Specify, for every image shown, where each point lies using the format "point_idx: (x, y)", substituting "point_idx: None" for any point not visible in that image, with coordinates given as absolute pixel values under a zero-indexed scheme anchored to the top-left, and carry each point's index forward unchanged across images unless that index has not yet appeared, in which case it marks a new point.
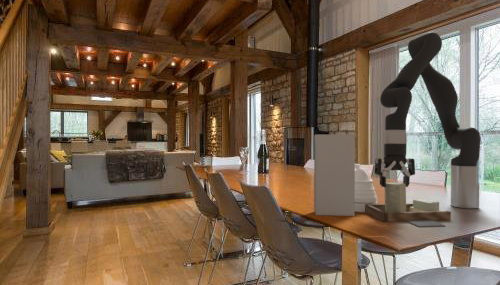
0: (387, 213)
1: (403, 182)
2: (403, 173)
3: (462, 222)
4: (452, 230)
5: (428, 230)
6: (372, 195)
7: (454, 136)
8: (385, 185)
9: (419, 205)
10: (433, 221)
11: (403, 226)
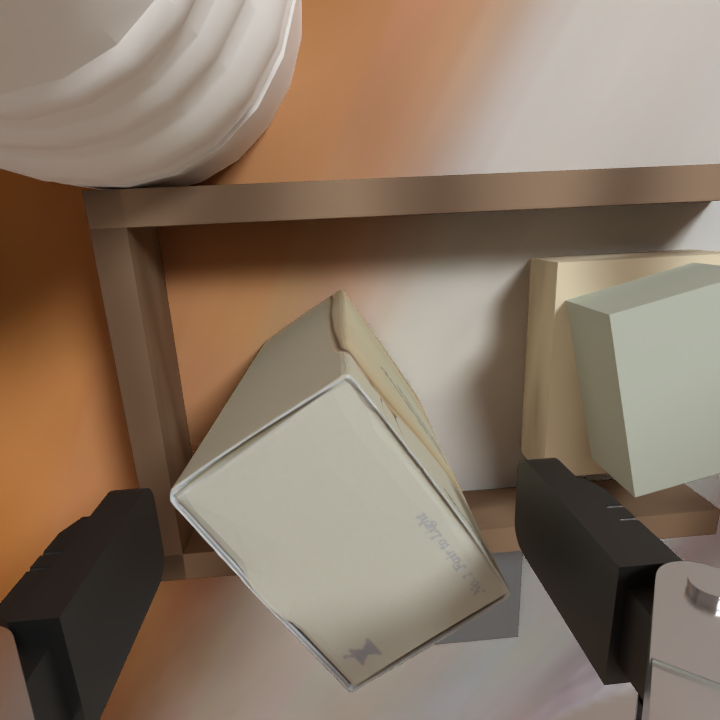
0: (181, 577)
1: (546, 498)
2: (659, 649)
3: (699, 542)
4: (496, 694)
5: (363, 699)
6: (156, 122)
7: None
8: (152, 587)
9: (595, 383)
10: (510, 557)
11: (259, 632)
